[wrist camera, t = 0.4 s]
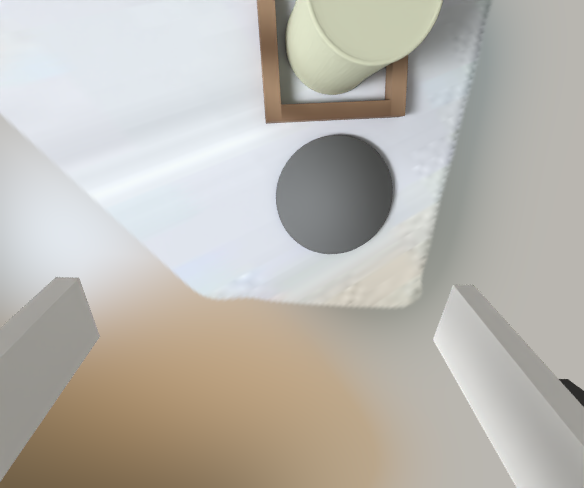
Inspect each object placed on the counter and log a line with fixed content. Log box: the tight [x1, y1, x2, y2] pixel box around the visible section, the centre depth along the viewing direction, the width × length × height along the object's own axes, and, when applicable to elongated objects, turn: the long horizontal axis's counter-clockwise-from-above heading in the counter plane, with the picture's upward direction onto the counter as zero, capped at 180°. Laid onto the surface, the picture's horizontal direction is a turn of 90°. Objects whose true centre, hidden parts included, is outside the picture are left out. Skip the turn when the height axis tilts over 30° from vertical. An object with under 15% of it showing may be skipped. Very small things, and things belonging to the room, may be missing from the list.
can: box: [285, 0, 443, 95], centre depth 24 cm, size 9×9×12 cm
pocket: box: [257, 0, 408, 123], centre depth 29 cm, size 14×14×2 cm
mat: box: [276, 135, 392, 254], centre depth 34 cm, size 13×13×1 cm
